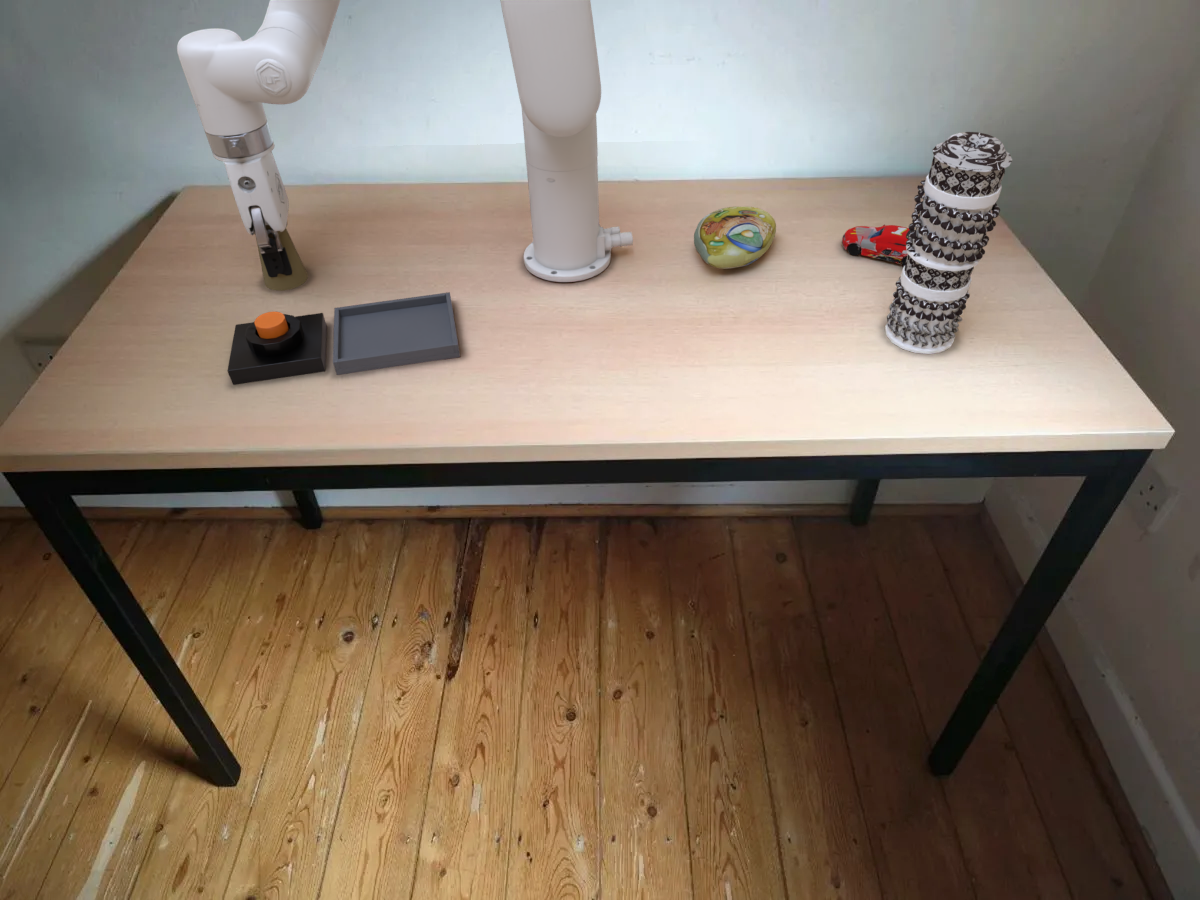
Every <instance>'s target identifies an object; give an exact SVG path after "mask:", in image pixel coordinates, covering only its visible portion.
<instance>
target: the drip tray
mask: <svg viewBox="0 0 1200 900" xmlns="http://www.w3.org/2000/svg"><path fill="white" fill-rule="evenodd" d="M333 310H334V311H333V313H334V314H333V346H332V347H333V349H332V364H333V368H334V370H335V374H336V376H340V375H347V374H353V373H355V374H356V373H360V372H368V371H374V370H382V369H388V368H394V367H401V366H409V365H415V364H423V363H429V362H435V361H442V360H448V359H449V360H450V359H456V358H457V359H458V358H461V353H460V347H459V346H460V345H459V340H458V334H457V333H458V332H457V327H456V322H455V315H454V314H455V313H454V308H453V302H452V297H451V292H450V291H449V292H448V291H447V292H442V293H433V294H426V295H419V296H412V297H404V298H397V299H396V298H395V299H390V300H382V301H375V302H374V301H373V302H368V303H360V304H354V305H346V306H337V307H334V309H333Z"/></svg>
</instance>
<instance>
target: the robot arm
mask: <svg viewBox="0 0 1200 900" xmlns="http://www.w3.org/2000/svg"><path fill="white" fill-rule="evenodd" d="M499 2H500V6H501V13H502V18H503V23H504V28H505V32H506V37H507V43H508V47H509V52H510V58H511V63H512V67H513V73H514V76H515V83H516V88H517V92H518V98H519V101H520V106H521V116H522V129H523V130H522V131H523V140H524V151H525V152H524V153H525V163H526V175H527V186H528V198H529V209H530V220H531V232H532V233H531V234H532V241H531V242H530V243H529V245H527V246H526V248H525V250H524V252H523V263H524V267H525V269H526V270H527V271H528V272H529V273H530V274H532V275H533V276H534V277H537V278H540V279H542V280H544V281H548V282H556V283H572V282H573V283H574V282H581V281H585V280H588V279H591V278H594V277H596V276H598V275H599V274H601V273H602V272H604V271H605V270H606V269H607V268H608V267H609V265H610V263H611V259H612V256H611V255H612V253H611V251H612V249H613V248H617V247H621V248H622V247H629V246H633V245H634V237H633V233H632V231H625V232H621V228H620V226H611V227H607V228H605V227H604V226H602V225H601V224H600V200H599V164H598V163H599V162H598V161H599V160H598V156H599V152H598V150H599V149H598V148H599V147H598V125H597V123H598V122H597V113H598V111H599V108H600V105H601V100H602V84H601V82H602V81H601V73H600V65H599V58H598V49H597V42H596V33H595V26H594V18H593V11H592V3H591V0H500V1H499ZM340 3H341V0H269V1H268V6H267V9H266V12H265V15H264V18H263V21H262V24H261V25H260V27H259V28H258V30H257V31H256V33H255V34H254V35H252V36H251V37H249V38H248V39H244V40H243V39H242V38H241V36H240V35H239V34H238V33H237V32H235V31H233V30H232V29H231V30H230V29H227V28H217V27H216V28H215V27H213V28H204V29H199V30H195V31H192V32H189V33H187V34H185V35H183V36H182V37H181V38H180V39H179V40H178V42H177V46H176V54H177V56H178V59H179V62H180V65H181V68H182V71H183V74H184V77H185V80H186V82H187V85H188V88H189V92H190V94H191V96H192V99H193V102H194V104H195V105H194V106H195V108H196V110H197V113H198V116H199V119H200V123H201V124H202V128H203V131H204V133H205V135H206V139H207V142H208V144H209V148H210V150H211V152H212V156H213V158H214V159H215V160H217V161H219V162H223V164H224V167H225V171H226V175H227V180H228V181H229V185H230V189H231V191H232V194H233V197H234V200H235V204H236V207H237V210H238V212H239V215H240V218H241V219H240V220H241V221H242V223H243V227H244V229H245V231H246V233H247V234H249V235H250V236H254V235H255V239H256V238H257V241H256V243H257V242H258V246H259V249H260V252H261V255H262V258H263V261H264V264H265V267H266V270H267V273H268V276H269V277H277V276H278V274H283V275H286V276H287V275H291V274H292V268H291V265H290V262H289V258H288V255H287V252H286V249H285V247H283V248H282V244H281V240H280V237H279V233H278V231H280V232H283V231H284V230H285V228H286V229H287V227H286V225H287V226H288V218H289V207H290V202H289V201H290V200H289V196H288V193H287V191H286V188H285V185H284V182H283V179H282V177H281V173H280V171H279V167H278V164H277V162H276V159H275V157H274V154H273V150H274V149H275V142H274V138H273V135H272V132H271V128H270V125H269V122H268V118H267V115H266V111H265V107H264V106H263V103H264V104H269V105H290V104H294V103H296V102H298V101H299V100H301V99H302V98H303V97H304V96H305V95H306V94H307V92H308V90H309V89H310V86H311V84H312V81H313V79H314V76H315V74H316V72H317V70H318V68H319V66H320V63H321V62H322V58H323V55H324V52H325V50H326V46H327V43H328V41H329V40H328V39H329V37H330V34H331V30H332V27H333V25H334V21H335V18H336V15H337V12H338V10H339V6H340ZM266 225H270V226H271V228H270V229H266ZM254 232H255V234H254ZM268 234H273V236H274V240H273V238H269V237H268ZM258 246H257V247H258Z"/></svg>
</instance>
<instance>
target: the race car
mask: <svg viewBox="0 0 1200 900" xmlns="http://www.w3.org/2000/svg"><path fill="white" fill-rule="evenodd" d="M910 232H911V231H910V230H909V228H908V227H906V226H901V225H895V224H888V225H887V224H883V225H882V226H868V225H860V226H859V225H858V226H853V227H851V228H848V229H847V230H846V231H845V232H844V234H843V235H842V238H841V244H842V245H841V246H842V248H843V249H844V250H846V251H847V252H848V253H849V255H850V256H853V257H856V256H858V255H861V256H864V257H869V258H873V259H877V260H881V261H886V262H889V263H894V264H897V265H898V264H899V265H900V264H902V266H903V267H904V266H905V264H906V260H907V256H908V254H907V249H906V241H907V240H909V233H910Z"/></svg>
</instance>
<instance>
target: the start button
mask: <svg viewBox="0 0 1200 900" xmlns="http://www.w3.org/2000/svg"><path fill="white" fill-rule="evenodd" d="M283 314H284V313H282V312H280V311H268V312H267V311H266V312H264V313H262V314H259V316H257V317H256V318H255V319H254V321H255V326H256V329H257V332H258V334H259V336H260V337H261V338H265V339H270V338H277V337H279V336H281V335H283V334H285V333H286V332H287V331H288V329H289V328H288V325H287V322H286V319H285V316H284V315H283Z"/></svg>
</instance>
